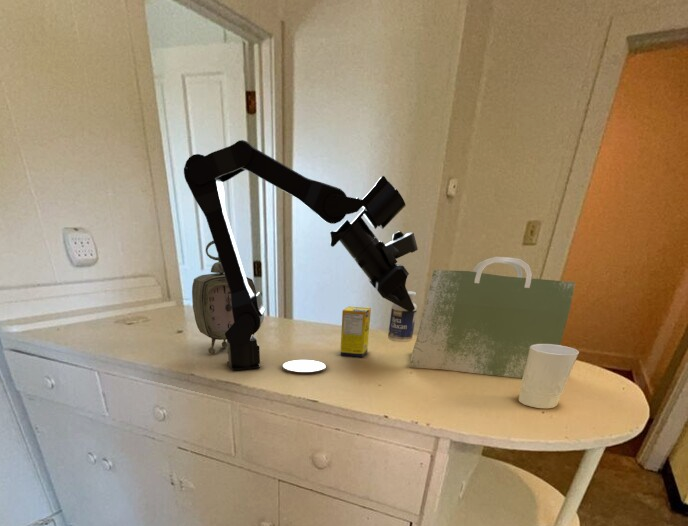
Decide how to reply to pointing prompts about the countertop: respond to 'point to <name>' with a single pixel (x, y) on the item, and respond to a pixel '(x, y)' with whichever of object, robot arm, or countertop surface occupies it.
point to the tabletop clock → (214, 302)
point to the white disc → (304, 367)
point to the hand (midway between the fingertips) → (410, 308)
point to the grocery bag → (489, 319)
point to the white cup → (546, 374)
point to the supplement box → (355, 331)
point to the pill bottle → (402, 322)
